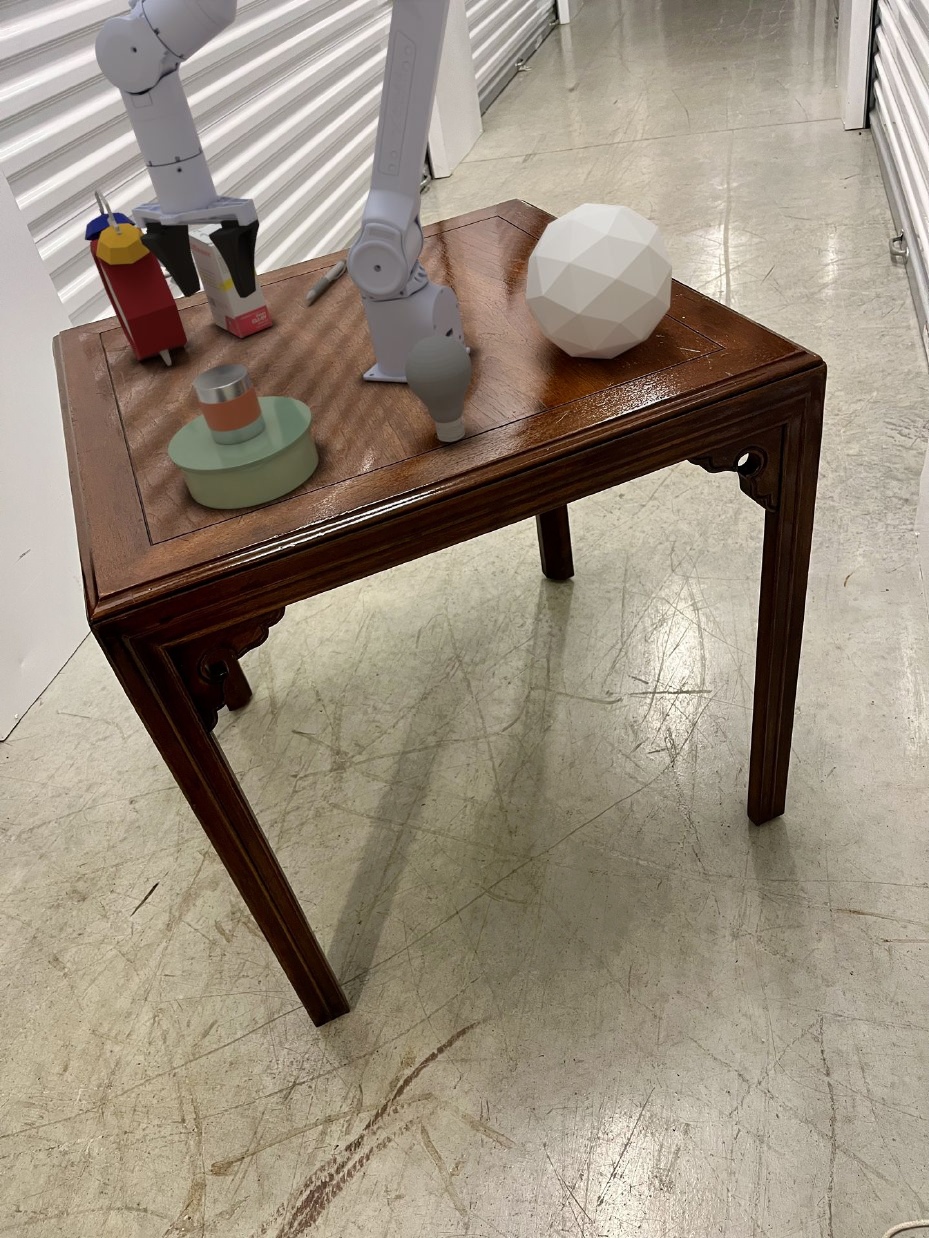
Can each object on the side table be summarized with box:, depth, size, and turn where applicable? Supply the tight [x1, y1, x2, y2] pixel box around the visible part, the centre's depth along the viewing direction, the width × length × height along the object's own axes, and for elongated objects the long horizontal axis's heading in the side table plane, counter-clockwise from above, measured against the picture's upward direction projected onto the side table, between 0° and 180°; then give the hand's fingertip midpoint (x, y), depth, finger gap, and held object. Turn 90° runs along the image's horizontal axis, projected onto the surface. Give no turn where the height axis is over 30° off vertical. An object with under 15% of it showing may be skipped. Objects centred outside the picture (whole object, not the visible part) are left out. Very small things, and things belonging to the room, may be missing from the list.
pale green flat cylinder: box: [167, 395, 319, 510], centre depth 89 cm, size 14×14×4 cm
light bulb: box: [405, 335, 473, 443], centre depth 86 cm, size 6×6×10 cm
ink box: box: [189, 224, 273, 339], centre depth 118 cm, size 9×5×12 cm, turn 35°
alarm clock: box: [84, 187, 188, 367], centre depth 113 cm, size 15×9×20 cm, turn 27°
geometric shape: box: [524, 202, 673, 360], centre depth 94 cm, size 14×15×15 cm
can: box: [192, 363, 265, 445], centre depth 86 cm, size 5×5×6 cm
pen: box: [305, 258, 347, 301], centre depth 128 cm, size 1×14×1 cm, turn 164°
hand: (220, 293), depth 101 cm, fingers open, 7 cm apart
